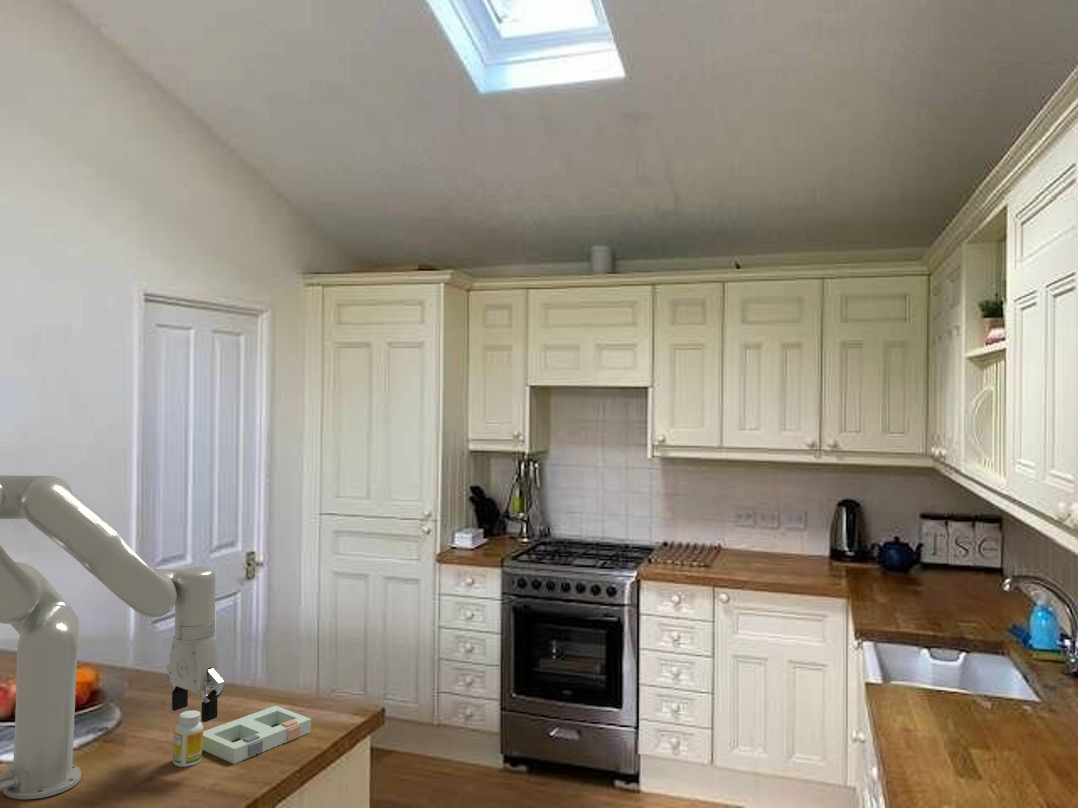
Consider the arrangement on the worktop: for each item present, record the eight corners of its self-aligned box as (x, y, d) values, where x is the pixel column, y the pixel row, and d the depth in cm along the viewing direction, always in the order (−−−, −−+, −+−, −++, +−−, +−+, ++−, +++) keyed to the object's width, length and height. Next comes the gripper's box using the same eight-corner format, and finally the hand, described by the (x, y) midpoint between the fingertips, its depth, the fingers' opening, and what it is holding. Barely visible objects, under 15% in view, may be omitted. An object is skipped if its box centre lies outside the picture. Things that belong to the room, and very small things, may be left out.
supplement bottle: (168, 767, 161) (171, 719, 161) (178, 755, 167) (180, 708, 167) (196, 767, 162) (199, 719, 162) (205, 755, 167) (207, 709, 167)
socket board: (235, 764, 164) (235, 747, 164) (197, 747, 171) (198, 731, 171) (311, 732, 181) (312, 717, 181) (274, 718, 188) (275, 703, 188)
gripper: (152, 627, 166) (152, 710, 166) (205, 643, 156) (204, 731, 157) (185, 618, 172) (185, 698, 173) (238, 633, 163) (237, 718, 163)
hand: (194, 714), depth 165 cm, fingers open, 9 cm apart
